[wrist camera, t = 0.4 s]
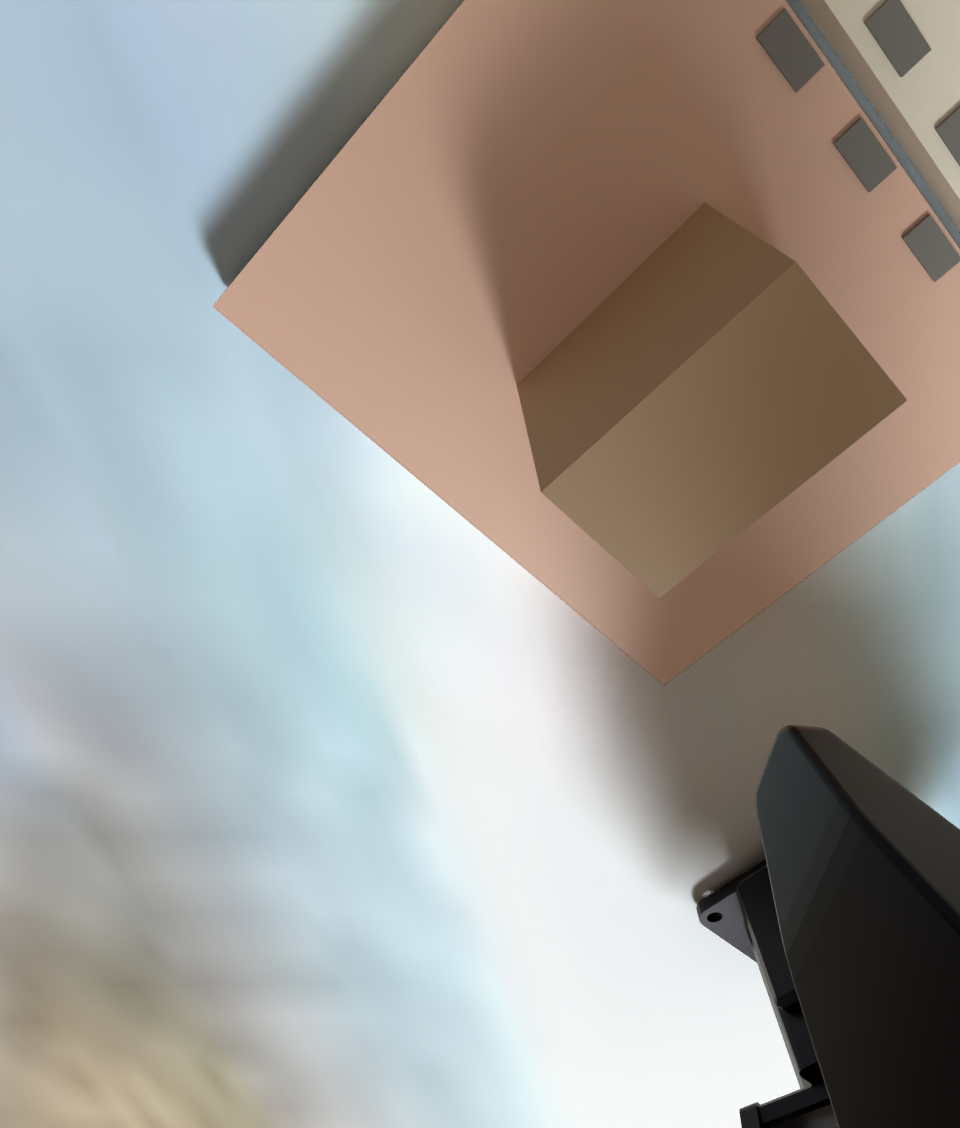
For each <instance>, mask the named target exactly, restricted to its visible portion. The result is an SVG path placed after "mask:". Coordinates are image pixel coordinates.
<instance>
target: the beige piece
mask: <svg viewBox="0 0 960 1128" xmlns="http://www.w3.org/2000/svg"><path fill="white" fill-rule="evenodd" d="M212 307H214V308H215V309H216V310H217V311H218V312H220V313H221V314H222V315H223V316H224V317H226V318H227V319H228V320H229V321H230V322H231V323H233V324H234V325H235V326H236V327H237V328H239V329H240V330H241V331H242V332H243V333H245V334H246V335H247V336H248V337H249V338H251V339H252V340H253V341H254V342H255V343H256V344H258V345H259V346H260V347H261V348H262V349H264V350H265V351H266V352H267V353H268V354H270V355H271V356H272V357H273V358H274V359H276V360H277V361H278V362H279V363H280V364H281V365H283V366H284V367H285V368H286V369H287V370H289V371H290V372H291V373H292V374H293V375H295V376H296V377H297V378H298V379H299V380H301V381H302V382H303V383H304V384H305V385H307V386H308V387H309V388H310V389H311V390H312V391H314V392H315V393H316V394H317V395H318V396H320V397H321V398H322V399H323V400H324V401H326V402H327V403H328V404H329V405H330V406H332V407H333V408H334V409H335V410H336V411H337V412H339V413H340V414H341V415H342V416H343V417H345V418H346V419H347V420H348V421H349V422H351V423H352V424H353V425H354V426H355V427H357V428H358V429H359V430H360V431H361V432H362V433H364V434H365V435H366V436H367V437H368V438H370V439H371V440H372V441H373V442H374V443H376V444H377V445H378V446H379V447H380V448H382V449H383V450H384V451H385V452H386V453H387V454H389V455H390V456H391V457H392V458H393V459H395V460H396V461H397V462H398V463H399V464H401V465H402V466H403V467H404V468H405V469H407V470H408V471H409V472H410V473H411V474H413V475H414V476H415V477H416V478H417V479H418V480H420V481H421V482H422V483H423V484H424V485H426V486H427V487H428V488H429V489H430V490H432V491H433V492H434V493H435V494H436V495H438V496H439V497H440V498H441V499H442V500H443V501H445V502H446V503H447V504H448V505H449V506H451V507H452V508H453V509H454V510H455V511H457V512H458V513H459V514H460V515H461V516H463V517H464V518H465V519H466V520H467V521H468V522H470V523H471V524H472V525H473V526H474V527H476V528H477V529H478V530H479V531H480V532H482V533H483V534H484V535H485V536H486V537H488V538H489V539H490V540H491V541H492V542H494V543H495V544H496V545H497V546H498V547H499V548H501V549H502V550H503V551H504V552H505V553H507V554H508V555H509V556H510V557H511V558H513V559H514V560H515V561H516V562H517V563H519V564H520V565H521V566H522V567H523V568H524V569H526V570H527V571H528V572H529V573H530V574H532V575H533V576H534V577H535V578H536V579H538V580H539V581H540V582H541V583H542V584H544V585H545V586H546V587H547V588H548V589H549V590H551V591H552V592H553V593H554V594H555V595H557V596H558V597H559V598H560V599H561V600H563V601H564V602H565V603H566V604H567V605H569V606H570V607H571V608H572V609H573V610H574V611H576V612H577V613H578V614H579V615H580V616H582V617H583V618H584V619H585V620H586V621H588V622H589V623H590V624H591V625H592V626H594V627H595V628H596V629H597V630H598V631H600V632H601V633H602V634H603V635H604V636H605V637H607V638H608V639H609V640H610V641H611V642H613V643H614V644H615V645H616V646H617V647H619V648H620V649H621V650H622V651H623V652H625V653H626V654H627V655H628V656H629V657H630V658H632V659H633V660H634V661H635V662H636V663H638V664H639V665H640V666H641V667H642V668H644V669H645V670H646V671H647V672H648V673H650V674H651V675H652V676H653V677H654V678H655V679H657V680H658V681H659V682H660V683H661V684H663V685H665V684H666V683H667V682H669V681H670V680H671V679H673V678H674V677H675V676H677V675H678V674H679V673H681V672H682V671H683V670H685V669H686V668H687V667H689V666H690V665H691V664H693V663H694V662H695V661H697V660H698V659H699V658H700V657H702V656H703V655H704V654H706V653H707V652H708V651H710V650H711V649H712V648H714V647H715V646H716V645H718V644H719V643H720V642H722V641H723V640H724V639H726V638H727V637H728V636H730V635H731V634H732V633H734V632H735V631H736V630H738V629H739V628H740V627H742V626H743V625H744V624H746V623H747V622H748V621H750V620H751V619H752V618H754V617H755V616H756V615H758V614H759V613H760V612H761V611H763V610H764V609H765V608H767V607H768V606H769V605H771V604H772V603H773V602H775V601H776V600H777V599H779V598H780V597H781V596H783V595H784V594H785V593H787V592H788V591H789V590H791V589H792V588H793V587H795V586H796V585H797V584H799V583H800V582H801V581H803V580H804V579H805V578H807V577H808V576H809V575H811V574H812V573H813V572H815V571H816V570H817V569H819V568H820V567H821V566H823V565H824V564H825V563H826V562H828V561H829V560H830V559H832V558H833V557H834V556H836V555H837V554H838V553H840V552H841V551H842V550H844V549H845V548H846V547H848V546H849V545H850V544H852V543H853V542H854V541H856V540H857V539H858V538H860V537H861V536H862V535H864V534H865V533H866V532H868V531H869V530H870V529H872V528H873V527H874V526H876V525H877V524H878V523H880V522H881V521H882V520H884V519H885V518H886V517H888V516H889V515H890V514H891V513H893V512H894V511H895V510H897V509H898V508H899V507H901V506H902V505H903V504H905V503H906V502H907V501H909V500H910V499H911V498H913V497H914V496H915V495H917V494H918V493H919V492H921V491H922V490H923V489H925V488H926V487H927V486H929V485H930V484H931V483H933V482H934V481H935V480H937V479H938V478H939V477H941V476H942V475H943V474H945V473H946V472H947V471H949V470H950V469H951V468H952V467H954V466H955V465H956V464H958V463H959V462H960V249H959V247H958V246H957V244H956V243H955V241H954V240H953V239H952V237H951V236H950V234H949V233H948V231H947V230H946V229H945V227H944V226H943V224H942V223H941V221H940V220H939V219H938V217H937V216H936V214H935V213H934V211H933V210H932V209H931V207H930V206H929V204H928V203H927V201H926V200H925V199H924V197H923V196H922V194H921V193H920V191H919V190H918V189H917V187H916V186H915V184H914V183H913V181H912V180H911V179H910V177H909V176H908V174H907V173H906V171H905V170H904V169H903V167H902V166H901V164H900V163H899V161H898V160H897V159H896V157H895V156H894V154H893V153H892V151H891V150H890V149H889V147H888V146H887V144H886V143H885V141H884V140H883V139H882V137H881V136H880V134H879V133H878V131H877V130H876V129H875V127H874V126H873V124H872V123H871V121H870V120H869V119H868V117H867V116H866V114H865V113H864V111H863V110H862V109H861V107H860V106H859V104H858V103H857V101H856V100H855V99H854V97H853V96H852V94H851V93H850V91H849V90H848V89H847V87H846V86H845V84H844V83H843V81H842V80H841V79H840V77H839V76H838V74H837V73H836V71H835V70H834V69H833V67H832V66H831V64H830V63H829V61H828V60H827V59H826V57H825V56H824V54H823V53H822V51H821V50H820V49H819V47H818V46H817V44H816V43H815V41H814V40H813V39H812V37H811V36H810V34H809V33H808V31H807V30H806V29H805V27H804V26H803V24H802V23H801V21H800V20H799V19H798V17H797V16H796V14H795V13H794V11H793V10H792V9H791V7H790V6H789V4H788V3H787V1H786V0H464V1H463V2H462V3H461V5H460V6H459V7H458V8H457V9H456V11H455V12H454V13H453V14H452V16H451V17H450V18H449V19H448V20H447V22H446V23H445V24H444V25H443V26H442V28H441V29H440V30H439V31H438V33H437V34H436V35H435V36H434V37H433V39H432V40H431V41H430V42H429V43H428V45H427V46H426V47H425V48H424V50H423V51H422V52H421V53H420V54H419V56H418V57H417V58H416V59H415V60H414V62H413V63H412V64H411V65H410V67H409V68H408V69H407V70H406V71H405V73H404V74H403V75H402V76H401V78H400V79H399V80H398V81H397V82H396V84H395V85H394V86H393V87H392V88H391V90H390V91H389V92H388V93H387V95H386V96H385V97H384V98H383V99H382V101H381V102H380V103H379V104H378V105H377V107H376V108H375V109H374V110H373V112H372V113H371V114H370V115H369V116H368V118H367V119H366V120H365V121H364V122H363V124H362V125H361V126H360V127H359V129H358V130H357V131H356V132H355V133H354V135H353V136H352V137H351V138H350V139H349V141H348V142H347V143H346V144H345V146H344V147H343V148H342V149H341V150H340V152H339V153H338V154H337V155H336V156H335V158H334V159H333V160H332V161H331V163H330V164H329V165H328V166H327V167H326V169H325V170H324V171H323V172H322V174H321V175H320V176H319V177H318V178H317V180H316V181H315V182H314V183H313V184H312V186H311V187H310V188H309V189H308V191H307V192H306V193H305V194H304V195H303V197H302V198H301V199H300V200H299V201H298V203H297V204H296V205H295V206H294V208H293V209H292V210H291V211H290V212H289V214H288V215H287V216H286V217H285V218H284V220H283V221H282V222H281V223H280V225H279V226H278V227H277V228H276V229H275V231H274V232H273V233H272V234H271V235H270V237H269V238H268V239H267V240H266V242H265V243H264V244H263V245H262V246H261V248H260V249H259V250H258V251H257V252H256V254H255V255H254V256H253V257H252V259H251V260H250V261H249V262H248V263H247V265H246V266H245V267H244V268H243V270H242V271H241V272H240V273H239V274H238V276H237V277H236V278H235V279H234V280H233V282H232V283H231V284H230V285H229V287H228V288H227V289H226V290H225V291H224V293H223V294H222V295H221V296H220V298H219V299H218V300H217V301H216V303H215V304H214V305H213V306H212Z"/></svg>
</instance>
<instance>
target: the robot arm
mask: <svg viewBox="0 0 960 1128" xmlns="http://www.w3.org/2000/svg"><path fill="white" fill-rule="evenodd" d="M756 810H757V816H758V821H759V826H760V831H761V836H762V842H763V847H764V852H765V857H766V860H765V861H763V862H762V863H760V864H758V865H757V866H755V867H754V868H752V869H751V870H749V871H747V872H746V873H744V874H743V875H741V876H739V877H738V878H736V879H735V880H733V881H732V882H730V883H728V884H727V885H725V886H724V887H722V888H721V889H719V890H717V891H716V892H714V893H713V894H711V895H710V896H708V897H706V898H705V899H703V900H702V901H701V902H700V903H698V905H697V907H696V908H697V913H698V917H699V920H700V922H701V924H702V925H704V926H705V927H706V928H708V929H709V930H711V931H712V932H714V933H715V934H717V935H718V936H719V937H721V938H722V939H724V940H725V941H727V942H728V943H730V944H731V945H732V946H734V947H735V948H737V949H738V950H740V951H741V952H743V953H744V954H745V955H747V956H748V957H750V958H751V959H753V960H754V961H755V962H757V964H758V966H759V969H760V972H761V975H762V978H763V981H764V984H765V987H766V990H767V993H768V995H769V998H770V1001H771V1004H772V1007H773V1010H774V1013H775V1016H776V1019H777V1022H778V1024H779V1027H780V1030H781V1033H782V1036H783V1039H784V1042H785V1045H786V1048H787V1051H788V1054H789V1056H790V1059H791V1062H792V1065H793V1068H794V1071H795V1074H796V1077H797V1080H798V1083H799V1085H800V1088H801V1089H800V1090H797V1091H795V1092H792V1093H790V1094H787V1095H784V1096H782V1097H779V1098H777V1099H774V1100H772V1101H769V1102H767V1103H764V1104H761V1105H760V1104H759V1103H757V1102H756V1103H754V1104H751V1105H749V1106H746V1107H744V1108H741V1109H740V1118H741V1125H742V1128H960V829H958V828H957V827H956V826H954V825H953V824H952V823H950V822H949V821H948V820H946V819H945V818H944V817H942V816H941V815H940V814H938V813H937V812H936V811H935V810H933V809H932V808H931V807H929V806H928V805H927V804H925V803H924V802H923V801H921V800H920V799H919V798H917V797H916V796H915V795H913V794H912V793H911V792H909V791H908V790H907V789H906V788H904V787H903V786H902V785H900V784H899V783H898V782H896V781H895V780H894V779H892V778H891V777H890V776H888V775H887V774H886V773H884V772H883V771H882V770H880V769H879V768H878V767H877V766H875V765H874V764H873V763H871V762H870V761H869V760H867V759H866V758H865V757H863V756H862V755H861V754H859V753H858V752H857V751H855V750H854V749H853V748H851V747H850V746H849V745H848V744H846V743H845V742H844V741H842V740H841V739H840V738H838V737H837V736H836V735H834V734H833V733H832V732H830V731H829V730H827V729H824V728H819V727H806V726H794V725H789V726H786V727H784V728H783V729H781V731H780V732H779V733H778V735H777V737H776V739H775V742H774V745H773V747H772V750H771V753H770V755H769V758H768V760H767V763H766V766H765V768H764V771H763V774H762V776H761V779H760V782H759V785H758V788H757V793H756Z"/></svg>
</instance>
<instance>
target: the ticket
mask: <svg viewBox="0 0 960 1128" xmlns="http://www.w3.org/2000/svg"><path fill="white" fill-rule="evenodd" d="M799 1H800V3H801V4H802V5H803V7H804V8H805V10H806V11H807V13H808V14H809V16H810V17H811V18H812V20H813V21H814V23H815V24H816V26H817V27H818V29H819V30H820V31H821V33H822V34H823V36H824V37H825V39H826V40H827V42H828V43H829V44H830V46H831V47H832V49H833V50H834V52H835V53H836V55H837V56H838V57H839V59H840V60H841V62H842V63H843V65H844V66H845V68H846V69H847V70H848V72H849V73H850V75H851V76H852V78H853V79H854V81H855V82H856V83H857V85H858V86H859V88H860V89H861V91H862V92H863V93H864V95H865V96H866V98H867V99H868V101H869V102H870V104H871V105H872V106H873V108H874V109H875V111H876V112H877V114H878V115H879V117H880V118H881V119H882V121H883V122H884V124H885V125H886V127H887V128H888V130H889V131H890V132H891V134H892V135H893V137H894V138H895V140H896V141H897V143H898V144H899V145H900V147H901V148H902V150H903V151H904V153H905V154H906V156H907V157H908V158H909V160H910V161H911V163H912V164H913V166H914V167H915V169H916V170H917V171H918V173H919V174H920V176H921V177H922V179H923V180H924V182H925V183H926V184H927V186H928V187H929V189H930V190H931V192H932V193H933V195H934V196H935V197H936V199H937V200H938V202H939V203H940V205H941V206H942V208H943V209H944V210H945V212H946V213H947V215H948V216H949V218H950V219H951V221H952V222H953V223H954V225H955V226H956V228H957V229H958V231H959V232H960V0H799Z"/></svg>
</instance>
